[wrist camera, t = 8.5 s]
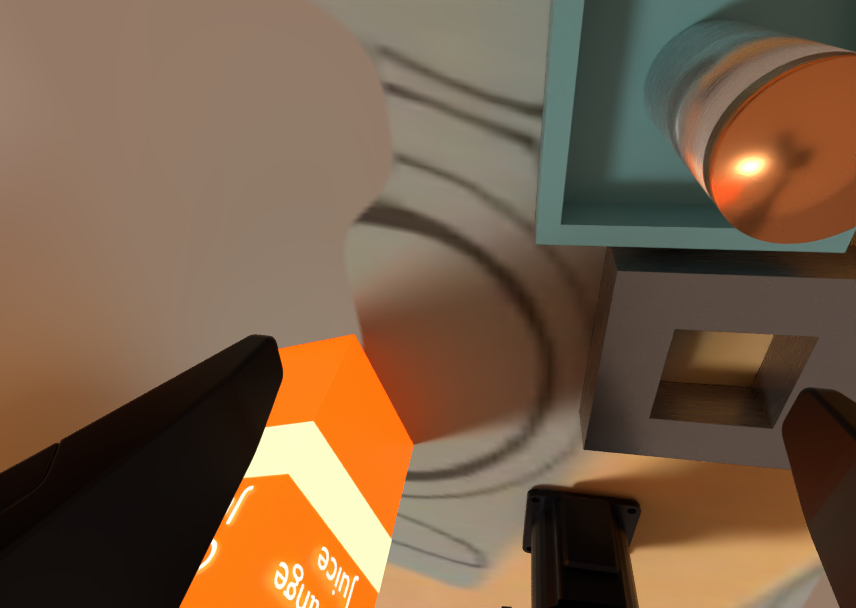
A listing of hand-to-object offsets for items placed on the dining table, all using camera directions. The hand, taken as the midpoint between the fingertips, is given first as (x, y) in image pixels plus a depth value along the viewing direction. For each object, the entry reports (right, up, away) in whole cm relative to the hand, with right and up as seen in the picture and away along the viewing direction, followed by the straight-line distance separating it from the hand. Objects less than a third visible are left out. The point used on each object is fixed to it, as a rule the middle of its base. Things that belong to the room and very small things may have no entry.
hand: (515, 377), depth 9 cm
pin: (+7, +8, +7) cm, 13 cm away
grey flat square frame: (+11, 0, +13) cm, 17 cm away
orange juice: (-7, -4, +20) cm, 22 cm away
